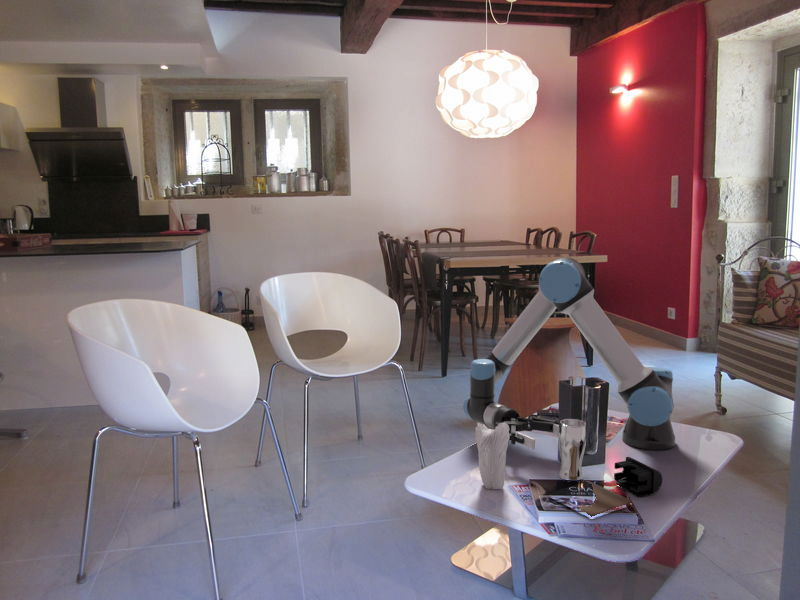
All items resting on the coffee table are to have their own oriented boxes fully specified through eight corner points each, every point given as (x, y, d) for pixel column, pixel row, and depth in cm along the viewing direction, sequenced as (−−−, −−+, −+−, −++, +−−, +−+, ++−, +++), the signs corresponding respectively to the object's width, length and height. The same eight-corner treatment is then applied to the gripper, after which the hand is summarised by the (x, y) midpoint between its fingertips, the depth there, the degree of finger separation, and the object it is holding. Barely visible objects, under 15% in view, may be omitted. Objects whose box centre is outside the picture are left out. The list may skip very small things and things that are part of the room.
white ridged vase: (473, 481, 176) (474, 414, 173) (504, 480, 176) (505, 414, 174) (478, 494, 168) (479, 425, 165) (511, 493, 168) (512, 424, 166)
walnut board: (588, 485, 173) (588, 480, 173) (632, 505, 161) (632, 500, 161) (548, 497, 166) (548, 492, 166) (591, 519, 154) (591, 514, 154)
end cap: (662, 494, 168) (663, 468, 167) (640, 499, 165) (641, 472, 164) (633, 479, 177) (635, 454, 176) (612, 483, 174) (613, 458, 173)
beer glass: (565, 483, 174) (567, 428, 172) (552, 473, 181) (554, 419, 179) (589, 480, 176) (591, 425, 174) (575, 470, 183) (577, 417, 180)
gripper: (533, 423, 207) (584, 444, 189) (468, 438, 195) (517, 461, 177) (533, 400, 206) (585, 418, 188) (468, 413, 194) (518, 434, 176)
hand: (552, 439), depth 182 cm, fingers open, 13 cm apart
